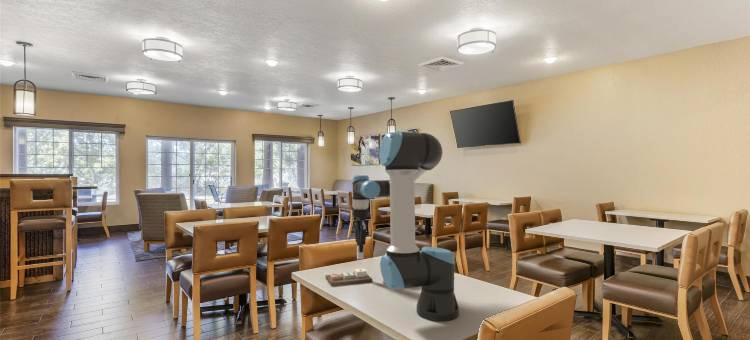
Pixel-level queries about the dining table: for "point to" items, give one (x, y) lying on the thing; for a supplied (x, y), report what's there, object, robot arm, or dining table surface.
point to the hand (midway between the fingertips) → (360, 258)
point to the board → (348, 280)
